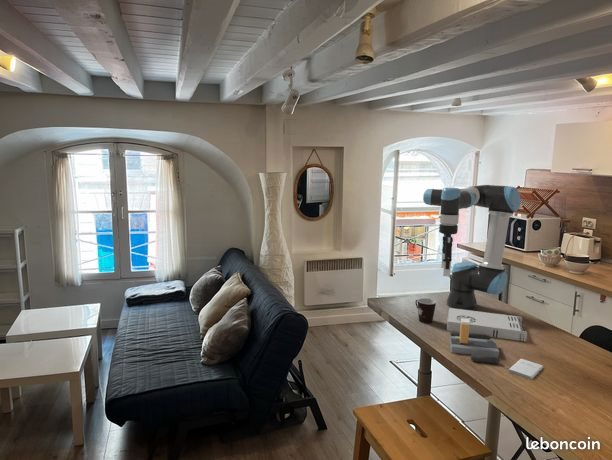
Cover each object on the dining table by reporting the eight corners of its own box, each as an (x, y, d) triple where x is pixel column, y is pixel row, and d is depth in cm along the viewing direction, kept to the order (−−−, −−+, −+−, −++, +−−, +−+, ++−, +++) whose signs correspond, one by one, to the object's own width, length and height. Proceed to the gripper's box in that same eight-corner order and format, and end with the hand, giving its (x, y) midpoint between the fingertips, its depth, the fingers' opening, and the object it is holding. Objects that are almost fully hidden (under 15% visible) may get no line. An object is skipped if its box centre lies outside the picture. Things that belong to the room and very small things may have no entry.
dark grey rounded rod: (450, 337, 194) (450, 332, 194) (450, 335, 196) (450, 330, 196) (490, 341, 190) (490, 336, 190) (489, 339, 193) (489, 334, 192)
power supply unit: (526, 342, 191) (527, 331, 190) (446, 331, 202) (447, 321, 201) (521, 326, 208) (522, 316, 207) (448, 317, 219) (449, 307, 219)
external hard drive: (508, 372, 165) (520, 361, 173) (531, 381, 159) (542, 369, 168) (508, 368, 164) (520, 357, 173) (532, 376, 159) (543, 365, 167)
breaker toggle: (460, 342, 182) (461, 322, 180) (459, 338, 185) (460, 318, 184) (468, 343, 181) (469, 322, 179) (466, 339, 185) (468, 319, 183)
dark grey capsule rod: (470, 361, 172) (471, 356, 171) (470, 359, 174) (470, 353, 173) (499, 365, 169) (500, 359, 169) (498, 362, 172) (498, 356, 171)
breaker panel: (451, 352, 180) (451, 346, 179) (449, 341, 190) (449, 335, 190) (498, 357, 175) (499, 351, 175) (494, 346, 186) (494, 339, 186)
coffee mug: (436, 324, 209) (438, 304, 207) (418, 324, 209) (419, 304, 207) (430, 315, 220) (431, 296, 218) (413, 315, 220) (414, 296, 218)
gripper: (438, 219, 202) (435, 264, 205) (441, 228, 178) (437, 279, 182) (455, 220, 200) (452, 265, 204) (460, 229, 176) (457, 280, 180)
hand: (445, 272), depth 193 cm, fingers open, 13 cm apart
